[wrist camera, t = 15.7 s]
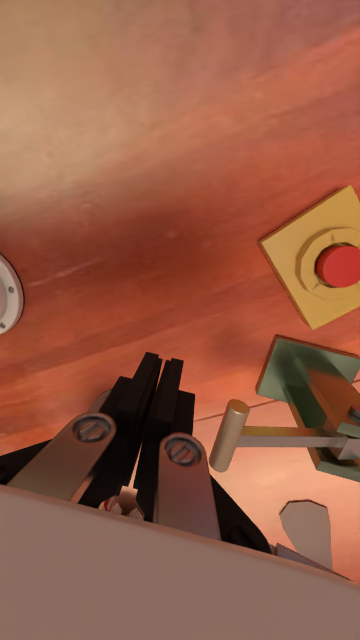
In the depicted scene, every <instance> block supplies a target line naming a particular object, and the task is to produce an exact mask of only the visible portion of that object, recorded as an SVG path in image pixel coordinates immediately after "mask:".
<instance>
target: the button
mask: <svg viewBox="0 0 360 640" xmlns="http://www.w3.org/2000/svg"><path fill="white" fill-rule="evenodd" d="M316 272H317V275H318V277H319V278H320V279H321V280H322V281H323V282H325V283H327V284H330V285H332V286H334V287H339V288H344V287H349V286H351V285H354V284H355V283H357V282H358V281H359V280H360V249H359V248H356V247H353V246H333V247H331V248H329V249H327V250H326V251H324V252H323V253H322V254H321V256H320V257H319V259H318V261H317V264H316Z"/></svg>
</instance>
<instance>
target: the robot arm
mask: <svg viewBox="0 0 360 640" xmlns="http://www.w3.org/2000/svg"><path fill="white" fill-rule="evenodd" d="M22 310H23V292H22V288H21V284H20V281H19V279H18V277H17V275H16V273H15V271H14V270H13V268H12V267H11V266H10V264H9V263H8V262H7V261H6V260H5V259H4V258H3V257H2V256H1V255H0V334H2V333H4V332H6V331H8V330H9V329H11V328H12V327H13V326H14V325H15V324H16V323H17V322H18V320H19V318H20V316H21V313H22ZM158 357H159V355H158V354H153V353H149V352H146V354H145V356H144V357H143V359H142V361H141V363H140V365H139V367H138V369H137V371H136V373H135V375H134V377H133V379H131V378H127V377H122V376H120V377H119V379H118V380H117V382H116V383H115V385H114V387H113V388H112V390H111V392H110V393H109V395H108V396H107V398H106V400H105V401H104V403H103V404H102V406H101V408H100V409H99V411H98V412H88V413H83V414H81V415H78V416H76V417H75V418H74V419H72V420H71V421H70V422H69V423H68V424H67V425H66V426H65V427H64V428H63V429H62V430H61V431H60V432H59V433H58V434H57V435H56V436H55V437H54V438H53V439H51V440H48V441H45V442H42V443H39V444H36V445H33V446H30V447H27V448H24V449H20V450H17V451H14V452H11V453H8V454H5V455H2V456H0V640H360V585H359V584H357V583H354V582H353V581H351V580H350V579H348V578H346V577H344V576H342V575H340V574H338V573H336V572H334V571H332V570H330V569H328V568H326V567H324V566H322V565H320V564H318V563H316V562H314V561H312V560H310V559H308V558H307V557H305V556H303V555H301V554H299V553H297V552H295V551H293V550H291V549H289V548H287V547H285V546H283V545H281V544H279V543H277V544H276V546H275V547H274V546H273V545H271V544H269V543H268V542H267V539H266V538H265V537H264V535H263V534H262V532H261V531H260V530H259V529H258V527H257V526H256V525H255V524H254V523H253V522H252V521H251V520H250V518H249V517H248V516H247V515H246V514H245V513H244V512H243V511H242V509H241V508H240V507H239V506H238V505H237V504H236V503H235V502H234V500H233V499H232V498H231V497H230V496H229V495H228V494H227V493H226V491H225V490H224V489H223V488H222V487H221V486H220V485H219V484H218V482H217V481H216V480H215V479H214V478H213V477H212V476H211V475H210V473H209V467H208V462H207V456H206V452H205V449H204V447H203V445H202V444H201V443H200V441H198V440H197V439H196V438H195V437H193V436H192V432H193V418H194V404H195V394H193V393H189V392H185V391H180V390H179V384H180V379H181V373H182V368H183V362H184V361H183V360H179V359H174V358H172V359H171V361H169V360H166V362H165V365H164V368H163V372H162V375H161V378H160V381H159V384H158V379H159V374H160V369H161V365H162V360H163V359H160V358H158ZM157 384H158V387H157ZM156 388H157V390H156ZM142 441H143V442H142ZM141 444H142V446H141ZM140 448H141V451H140ZM139 451H140V456H139V461H138V466H137V470H136V475H135V480H134V485H133V488H135V489H138V492H137V496H136V501H137V503H138V504H139V506H140V508H141V510H142V511H143V513H144V515H143V519H142V520H139V519H135V518H131V517H127V516H123V515H120V514H116V513H112V512H108V511H104V510H102V509H103V506H104V502H105V501H106V500H108V499H109V498H111V497H113V496H119V494H120V491H121V488H122V486H127V487H128V486H129V483H130V480H131V476H132V473H133V470H134V467H135V464H136V460H137V457H138V454H139Z"/></svg>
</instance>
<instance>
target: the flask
mask: <svg viewBox="0 0 360 640" xmlns="http://www.w3.org/2000/svg"><path fill="white" fill-rule="evenodd" d="M280 517H281V521H282V525H283V529H284V530H285V532H286V534H287V536H288V537H289V539H290V540H291V542H292V544H293V545H294V547H295V549H296V550H297V552H298V553H299V554H301V555H303V556H305V557H307V558H308V559H310V560H312V561H314V562H316V563H318V564H320V565H322V566H324V567H326V568H328V569H330V570H332V571H333V568H332V554H331V531H330V520H329V515H328V510H327V508H324V507H322V506H319V505H317V504H314V503H312V502H309V501H307V502H295V503H288V505H287V506H286V507H285V509H284V510H283V512H282V513H281V514H280Z"/></svg>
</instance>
